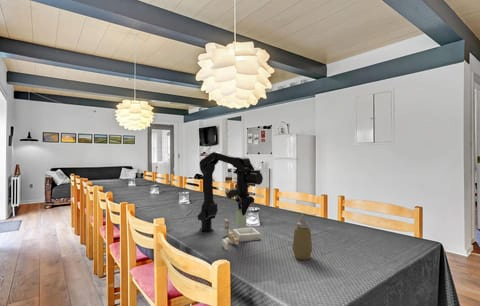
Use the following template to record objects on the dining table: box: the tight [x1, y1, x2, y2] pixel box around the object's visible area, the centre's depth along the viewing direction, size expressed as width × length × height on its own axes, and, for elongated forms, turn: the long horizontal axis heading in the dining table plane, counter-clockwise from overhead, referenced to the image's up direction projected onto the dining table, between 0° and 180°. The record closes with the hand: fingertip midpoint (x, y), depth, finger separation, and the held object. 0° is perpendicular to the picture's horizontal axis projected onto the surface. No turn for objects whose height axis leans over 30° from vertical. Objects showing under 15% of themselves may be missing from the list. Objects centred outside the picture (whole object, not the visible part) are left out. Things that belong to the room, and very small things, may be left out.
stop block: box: [235, 208, 247, 228], centre depth 135 cm, size 4×4×8 cm
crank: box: [224, 218, 240, 246], centre depth 135 cm, size 22×3×6 cm, turn 17°
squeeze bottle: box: [292, 213, 313, 261], centre depth 114 cm, size 8×8×18 cm
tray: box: [232, 227, 262, 243], centre depth 140 cm, size 11×11×3 cm
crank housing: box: [221, 236, 239, 251], centre depth 130 cm, size 14×10×3 cm
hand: (242, 214), depth 135 cm, fingers closed on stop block, 4 cm apart
